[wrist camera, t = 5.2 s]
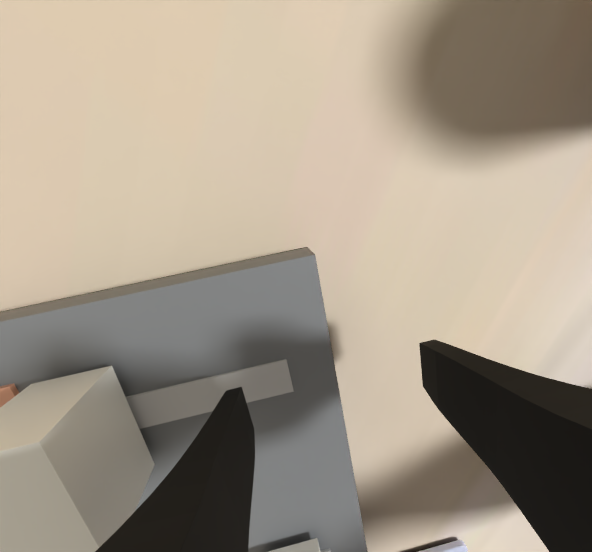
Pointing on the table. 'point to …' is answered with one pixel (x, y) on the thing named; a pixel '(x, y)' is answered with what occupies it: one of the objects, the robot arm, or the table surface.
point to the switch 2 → (301, 547)
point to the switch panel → (215, 380)
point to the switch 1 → (69, 464)
